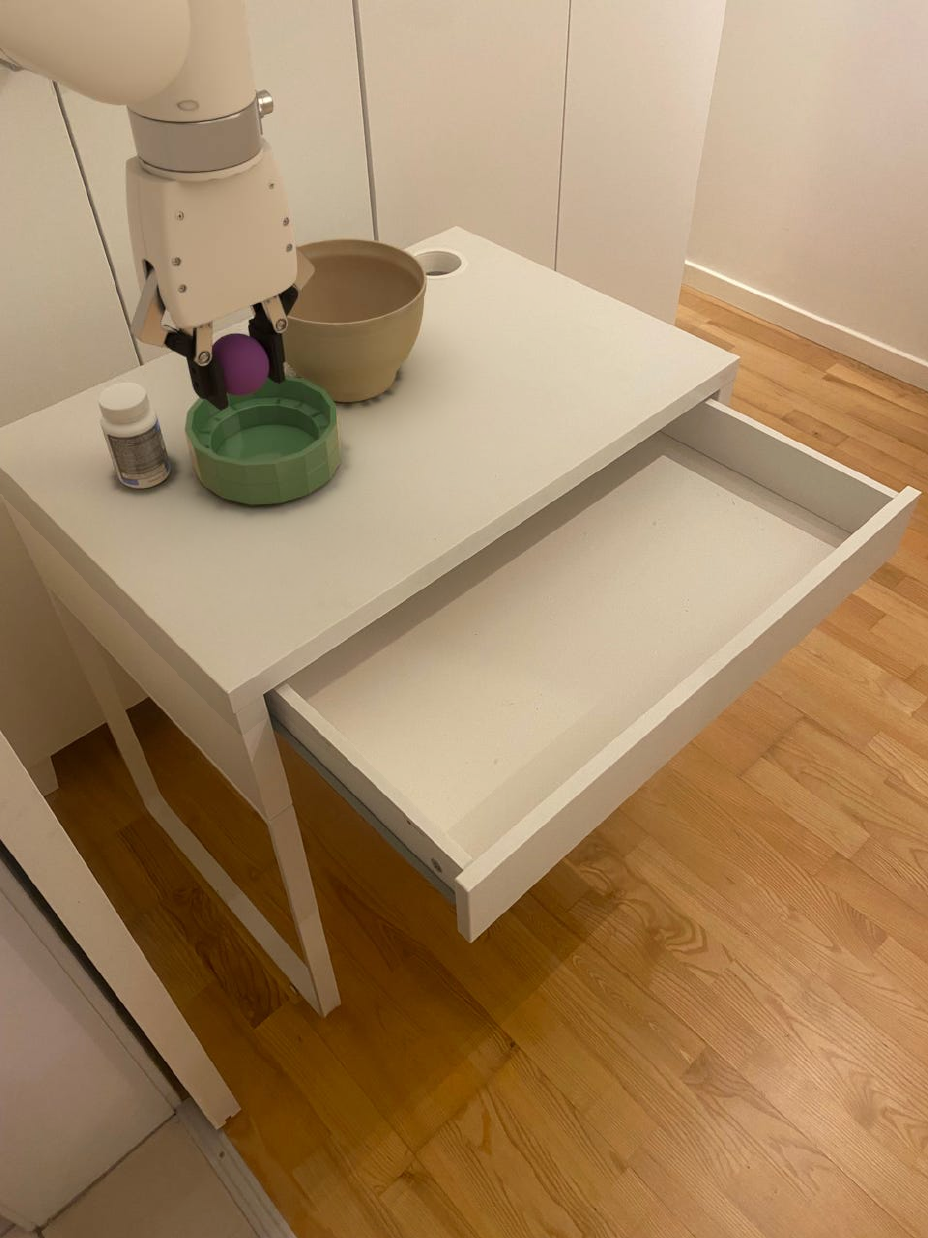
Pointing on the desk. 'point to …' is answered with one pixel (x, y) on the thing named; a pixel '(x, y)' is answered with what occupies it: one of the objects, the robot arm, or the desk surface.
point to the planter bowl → (355, 316)
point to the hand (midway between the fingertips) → (242, 385)
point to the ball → (241, 363)
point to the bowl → (266, 442)
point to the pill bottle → (133, 435)
